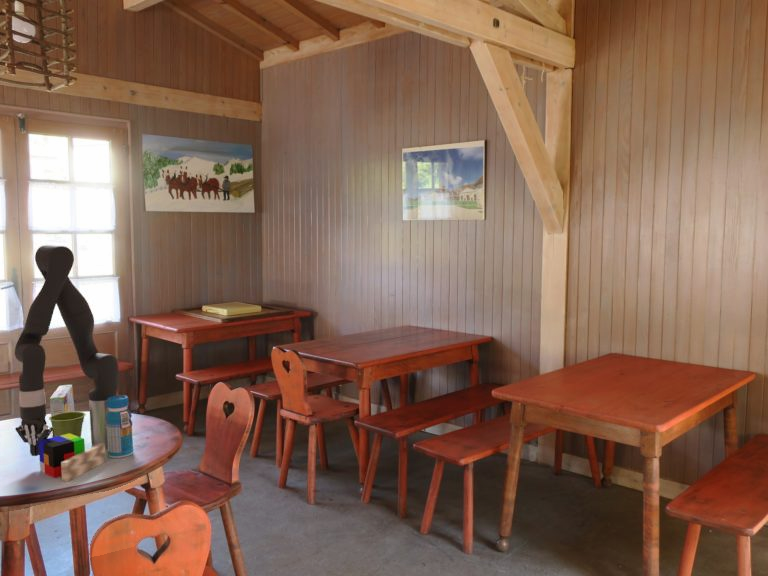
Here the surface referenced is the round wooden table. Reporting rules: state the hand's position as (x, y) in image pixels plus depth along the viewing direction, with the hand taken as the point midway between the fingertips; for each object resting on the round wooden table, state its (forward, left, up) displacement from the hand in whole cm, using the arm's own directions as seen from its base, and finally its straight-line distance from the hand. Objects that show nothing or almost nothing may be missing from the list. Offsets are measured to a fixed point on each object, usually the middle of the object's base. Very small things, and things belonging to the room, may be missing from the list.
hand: (35, 455), depth 214 cm
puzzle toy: (0, +10, -4) cm, 11 cm away
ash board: (0, +18, -4) cm, 19 cm away
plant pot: (-20, -4, -4) cm, 21 cm away
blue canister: (-16, +20, -4) cm, 26 cm away
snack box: (-39, -22, -4) cm, 45 cm away
